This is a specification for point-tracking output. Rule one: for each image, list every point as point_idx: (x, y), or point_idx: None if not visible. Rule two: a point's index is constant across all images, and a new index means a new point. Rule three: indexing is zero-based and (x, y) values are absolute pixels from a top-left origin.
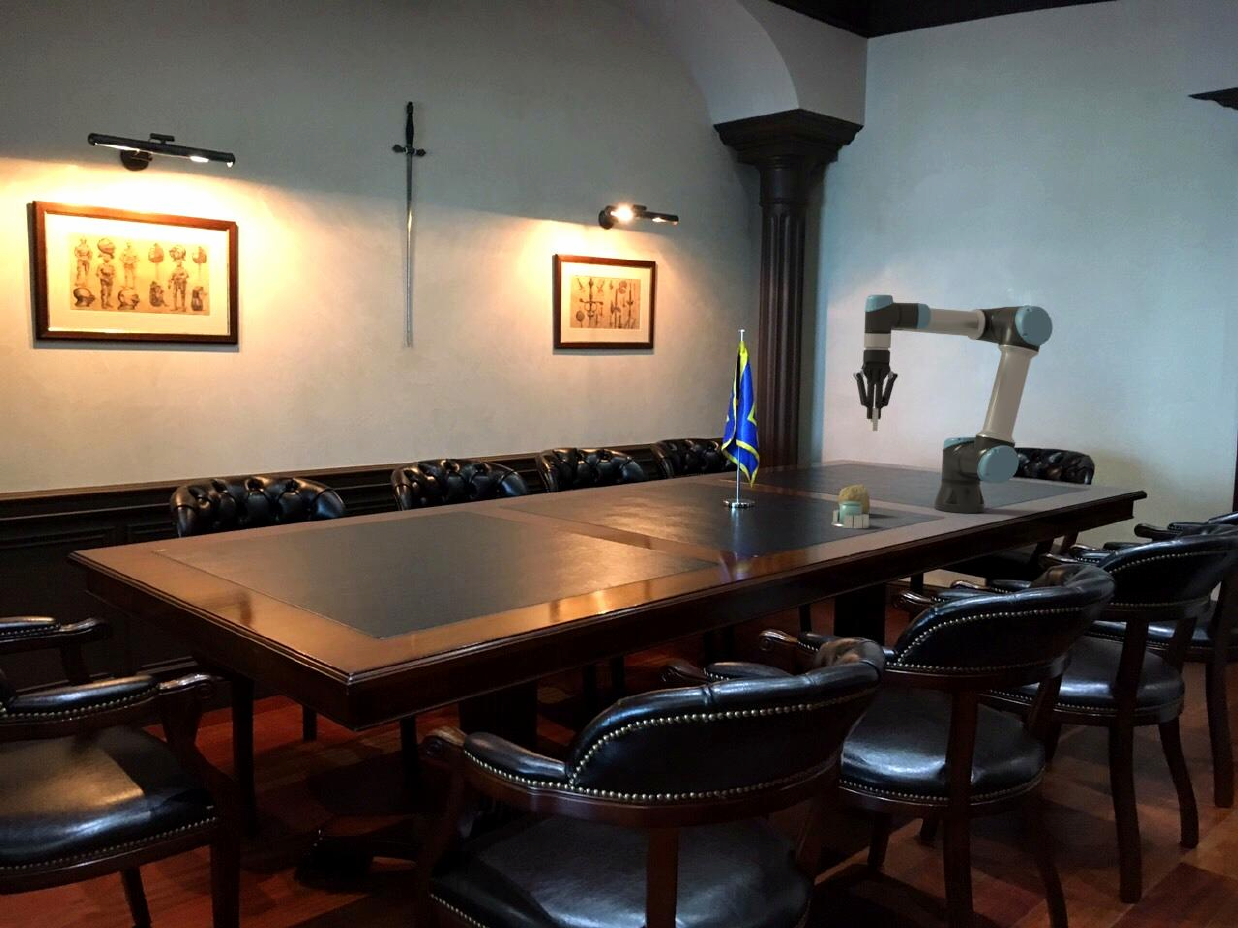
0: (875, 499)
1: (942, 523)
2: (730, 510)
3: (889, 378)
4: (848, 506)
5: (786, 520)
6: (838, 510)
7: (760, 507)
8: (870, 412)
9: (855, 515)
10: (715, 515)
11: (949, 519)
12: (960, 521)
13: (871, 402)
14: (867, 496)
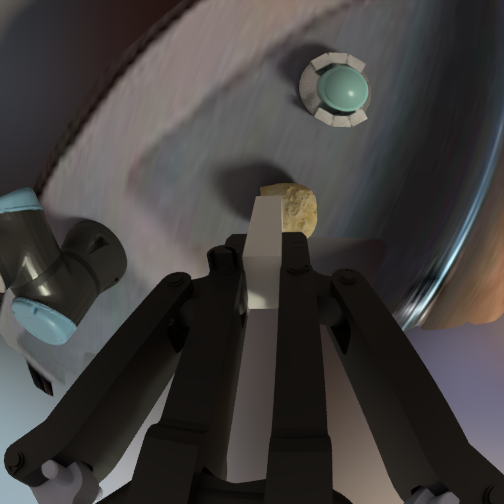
0: None
1: (145, 117)
2: (457, 254)
3: (81, 470)
4: (357, 71)
5: (428, 155)
6: (356, 119)
7: (406, 278)
8: (296, 253)
9: (342, 56)
10: (492, 214)
11: (123, 162)
12: (111, 143)
13: (301, 287)
14: (264, 195)
